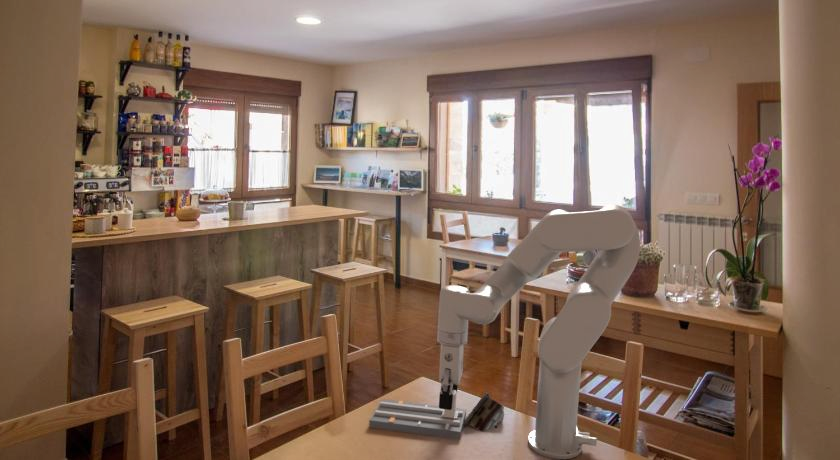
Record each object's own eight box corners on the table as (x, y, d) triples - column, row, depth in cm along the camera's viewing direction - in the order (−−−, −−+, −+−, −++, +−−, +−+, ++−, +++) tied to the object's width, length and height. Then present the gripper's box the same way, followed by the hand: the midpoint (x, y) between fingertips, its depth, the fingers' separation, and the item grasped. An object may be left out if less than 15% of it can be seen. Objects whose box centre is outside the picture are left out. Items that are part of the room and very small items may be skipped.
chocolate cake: (485, 440, 132) (510, 398, 136) (461, 424, 136) (486, 384, 140) (489, 449, 140) (513, 409, 144) (467, 433, 143) (490, 395, 148)
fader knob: (458, 415, 138) (459, 390, 137) (456, 420, 135) (457, 395, 134) (442, 413, 139) (443, 388, 138) (441, 418, 136) (442, 393, 135)
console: (465, 416, 142) (466, 406, 142) (460, 439, 131) (460, 428, 130) (381, 406, 147) (382, 396, 146) (369, 427, 135) (369, 417, 135)
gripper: (463, 349, 125) (458, 418, 127) (471, 326, 142) (466, 387, 144) (431, 345, 126) (427, 413, 129) (442, 323, 143) (439, 383, 146)
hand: (448, 399), depth 136 cm, fingers open, 9 cm apart
